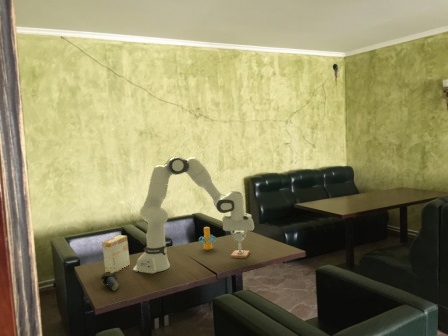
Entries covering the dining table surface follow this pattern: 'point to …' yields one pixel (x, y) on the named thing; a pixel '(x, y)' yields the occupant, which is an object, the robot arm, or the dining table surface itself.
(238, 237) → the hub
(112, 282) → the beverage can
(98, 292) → the dining table surface
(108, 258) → the coffeecake box
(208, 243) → the orange vase with loops
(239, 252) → the shaft block
